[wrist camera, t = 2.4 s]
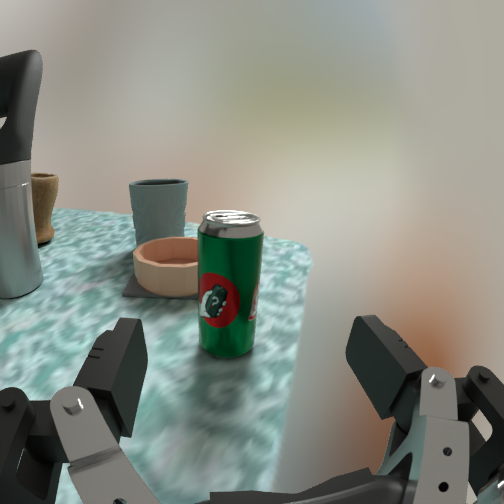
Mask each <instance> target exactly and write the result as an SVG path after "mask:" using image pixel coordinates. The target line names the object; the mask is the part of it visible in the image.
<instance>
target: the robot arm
mask: <svg viewBox="0 0 504 504" xmlns="http://www.w3.org/2000/svg"><path fill="white" fill-rule="evenodd" d="M41 78H42V58H41V55H40V53H39V52H38V51H36V50H27V51H23V52H19V53H15V54H11V55H8V56H4V57H1V58H0V118H3V117H7V118H6V121H5V123H4V125H3V126H2V128H1V129H0V298H14V297H18V296H21V295H24V294H27V293H29V292H31V291H32V290H34V289H36V288H37V287H38V286H39V285H40V284H41V283H42V281H43V273H42V268H41V263H40V258H39V252H38V245H37V239H36V232H35V224H34V214H33V203H32V187H31V160H30V159H31V147H32V139H33V127H34V117H35V111H36V105H37V99H38V95H39V88H40V84H41ZM346 359H347V362H348V364H349V365H350V367H351V369H352V370H353V372H354V374H355V375H356V377H357V379H358V380H359V382H360V384H361V385H362V387H363V389H364V390H365V392H366V394H367V396H368V397H369V399H370V400H371V402H372V404H373V406H374V408H375V409H376V411H377V413H378V414H379V416H380V418H381V419H382V420H383V419H386V418H389V417H392V416H394V418H395V421H394V422H393V424H392V427H391V432H390V436H389V440H388V444H387V449H386V452H385V456H384V459H383V463H382V465H381V467H380V469H379V470H378V472H377V473H376V475H372V474H371V472H370V470H369V468H368V467H367V468H365V469H361V470H358V471H354V472H351V473H347V474H344V475H340V476H336V477H334V478H331V479H329V480H327V481H325V482H323V483H321V484H319V485H317V486H315V487H312V488H310V489H308V490H306V491H303V492H301V493H297V494H288V493H272V492H262V491H253V490H252V491H235V492H210V500H207V501H202V502H198V503H195V504H466V496H467V487H468V482H469V483H470V485H471V487H472V489H473V491H474V493H475V495H476V496H477V500H476V501H475V502H474V503H473V504H504V385H503V384H502V382H501V381H500V380H499V379H498V378H497V377H496V376H495V375H494V374H493V373H492V372H491V371H490V370H489V369H487V368H485V367H483V366H473V367H472V368H471V369H470V371H469V372H468V374H467V376H466V377H465V378H453V376H452V375H451V374H450V373H449V372H447V371H446V370H444V369H442V368H438V367H430V368H428V367H427V366H426V365H425V364H424V362H423V361H422V360H421V359H420V358H419V357H418V356H417V355H416V353H415V352H414V351H413V350H412V349H411V348H410V347H408V344H407V343H406V342H405V341H403V339H402V338H401V337H400V336H399V335H398V334H397V333H396V331H394V330H392V329H391V328H389V327H387V326H386V325H384V324H383V323H382V322H381V321H380V319H379V318H378V317H377V316H376V315H366V316H357V317H356V318H355V320H354V323H353V326H352V329H351V333H350V336H349V340H348V343H347V347H346ZM147 364H148V355H147V349H146V344H145V338H144V332H143V326H142V322H141V320H140V319H134V318H119V320H118V322H117V324H116V326H115V328H114V330H113V331H112V330H106V331H105V332H104V333H102V334H101V335H100V336H99V337H98V338H97V339H96V341H95V343H94V345H93V346H92V349H91V350H90V352H89V354H88V357H87V358H86V360H85V362H84V364H83V366H82V368H81V370H80V372H79V374H78V376H77V378H76V380H75V382H74V384H73V386H70V387H65V388H63V389H61V390H59V391H58V392H56V393H55V395H54V396H53V397H52V399H51V400H42V401H29V399H28V398H27V396H26V394H25V393H24V392H23V391H22V390H21V389H19V388H15V387H9V388H5V389H3V390H1V391H0V504H55V500H56V494H57V489H58V483H59V478H60V474H61V469H62V465H63V463H70V466H69V467H68V472H69V475H70V477H71V480H72V482H73V484H74V486H75V488H76V490H77V492H78V494H79V496H80V498H81V500H82V502H83V503H84V504H161V503H160V502H159V501H158V500H157V498H156V497H155V496H154V495H153V493H152V492H151V491H150V489H149V488H148V487H147V486H146V484H145V483H144V482H143V480H142V479H141V477H140V476H139V475H138V473H137V472H136V470H135V469H134V467H133V466H132V464H131V463H130V461H129V460H128V458H127V457H126V455H125V454H124V452H123V451H122V449H121V448H120V446H119V441H120V437H121V436H123V437H129V438H131V436H132V431H133V427H134V422H135V417H136V412H137V408H138V403H139V399H140V395H141V391H142V386H143V382H144V378H145V374H146V370H147ZM479 409H480V410H481V412H482V413H483V414H484V416H485V417H486V419H487V420H488V421H489V423H490V424H491V426H492V429H493V431H492V435H491V437H490V438H489V439H488V440H487V442H486V441H485V439H484V438H483V437H482V435H481V434H480V432H479V431H478V429H477V428H476V426H475V425H474V423H473V422H472V418H473V417H474V416H475V414H476V413H477V412H478V410H479ZM23 449H24V450H23ZM22 451H23V453H22ZM21 454H22V456H21ZM20 457H21V459H20ZM19 460H20V463H19ZM18 464H19V466H18ZM17 467H18V469H17ZM16 472H17V473H16Z"/></svg>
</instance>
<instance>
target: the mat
mask: <svg viewBox="0 0 504 504" xmlns="http://www.w3.org/2000/svg"><path fill="white" fill-rule="evenodd" d="M122 294H123V296H133V297H153V298H178V299H198V294H196V295H191V296H181V297H171V296H162V295H157V294H153V293H150V292H148V291H146V290H144V289H143V288H142V287H140V285H139V284H138V282H137V278H136V276H135V273H134V275H133V276H132V278H131V279H130V281H129V283H128V284H127V286H126V288H125V289H124V291H123V293H122Z"/></svg>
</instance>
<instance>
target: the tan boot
mask: <svg viewBox="0 0 504 504" xmlns="http://www.w3.org/2000/svg"><path fill="white" fill-rule="evenodd" d="M31 187H32V203H33V214H34V224H35V232H36V239H37V244H39V243H43V242H46V241H49V240H51V239H52V238H53V237H54V229H53V227H52V226H51V215H52V211H53V207H54V203H55V200H56V196H57V191H58V176H57V175H53V174H48V173H31Z"/></svg>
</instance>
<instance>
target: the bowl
mask: <svg viewBox="0 0 504 504" xmlns="http://www.w3.org/2000/svg"><path fill="white" fill-rule="evenodd" d="M197 242H198V238H195V237H166V238H159V239H153V240H150V241H148V242H145V243H143V244H140V245H138V247H137V248H136V249H135V251H134V252H133V260H134V270H135V276H136V278H137V282H138V284H139V285H140V287H142V288H143V289H144V290H146V291H148V292H150V293H153V294H157V295H162V296H171V297H181V296H191V295H196V294H198V273H197Z"/></svg>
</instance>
